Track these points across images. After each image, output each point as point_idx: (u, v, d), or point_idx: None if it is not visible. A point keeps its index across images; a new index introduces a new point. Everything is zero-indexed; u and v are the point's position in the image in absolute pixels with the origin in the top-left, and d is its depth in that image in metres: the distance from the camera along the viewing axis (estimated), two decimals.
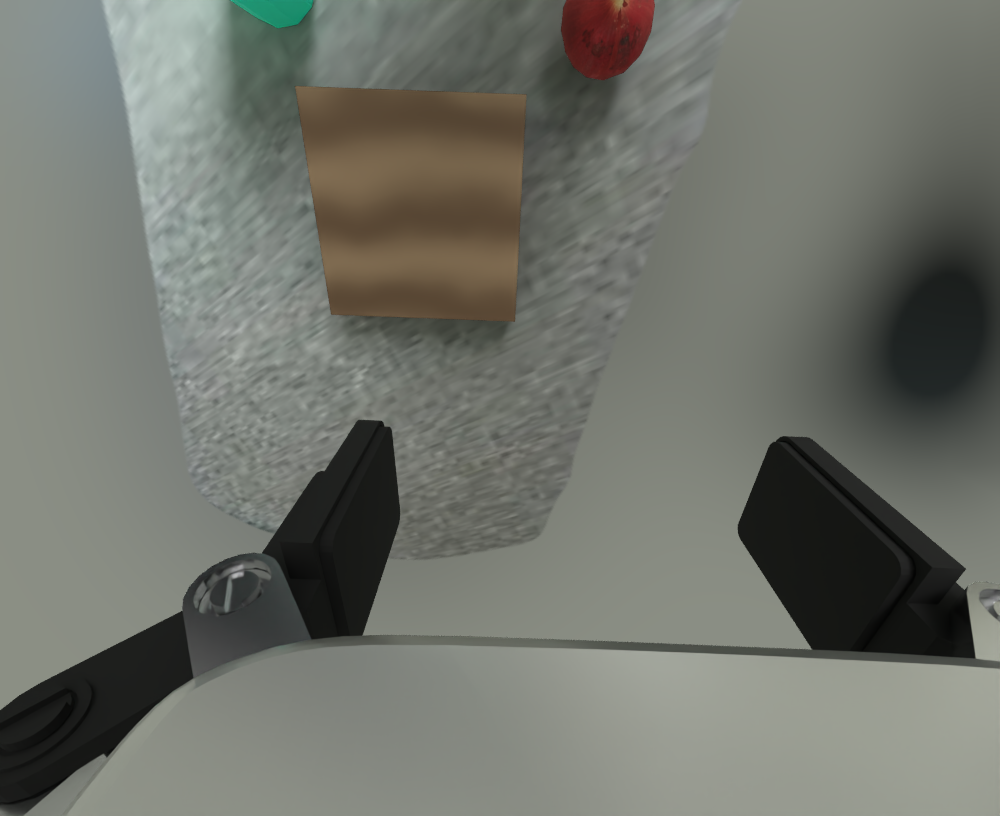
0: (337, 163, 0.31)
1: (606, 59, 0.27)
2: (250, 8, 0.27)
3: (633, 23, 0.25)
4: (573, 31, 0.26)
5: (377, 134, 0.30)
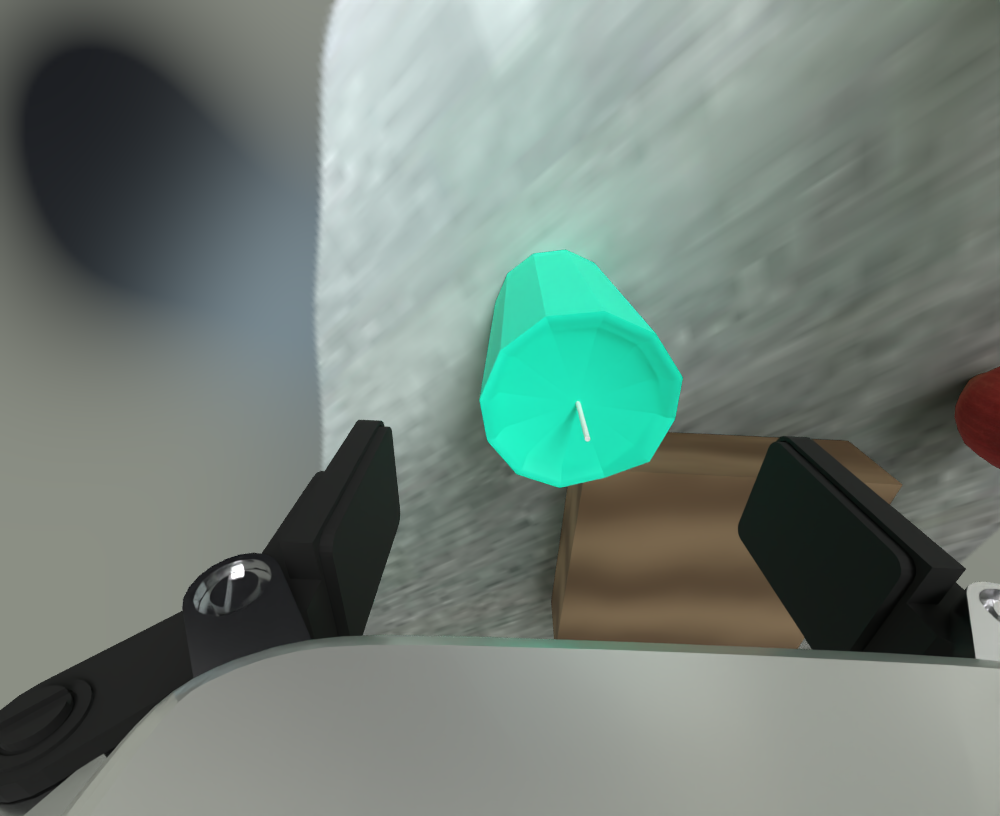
0: (615, 535, 0.24)
1: None
2: None
3: None
4: None
5: (680, 513, 0.23)
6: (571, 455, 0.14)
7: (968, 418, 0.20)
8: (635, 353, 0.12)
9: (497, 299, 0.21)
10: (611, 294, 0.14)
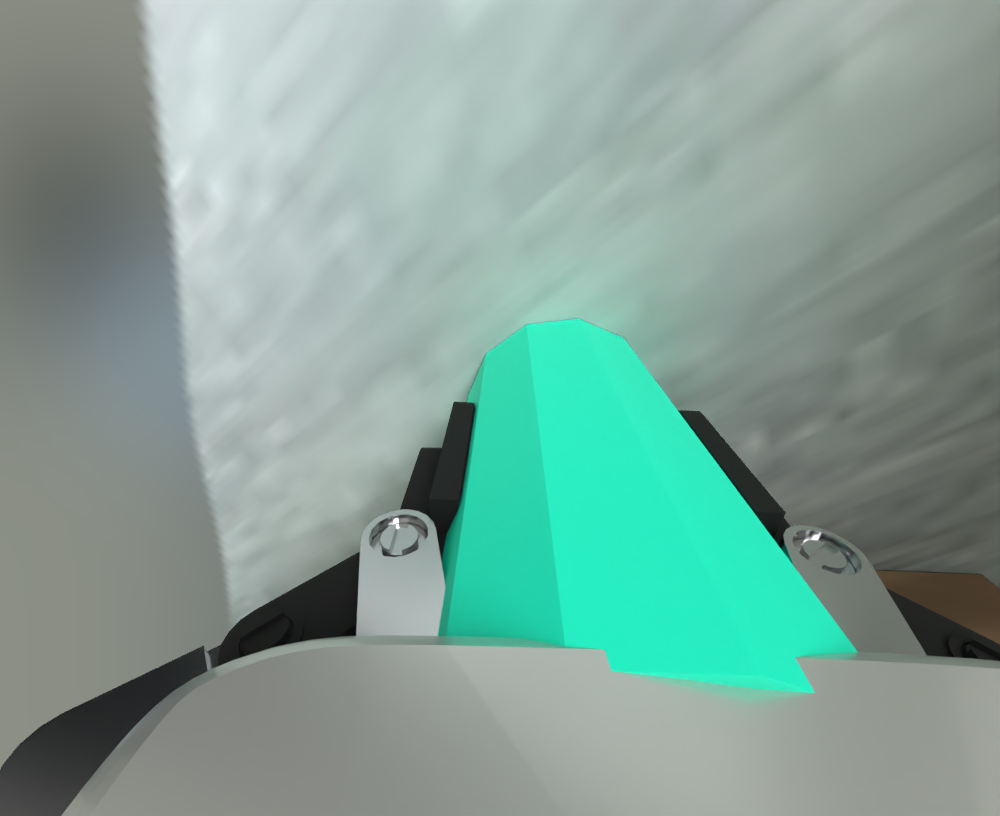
0: None
1: None
2: None
3: None
4: None
5: None
6: None
7: None
8: None
9: (470, 394, 0.13)
10: (700, 475, 0.06)
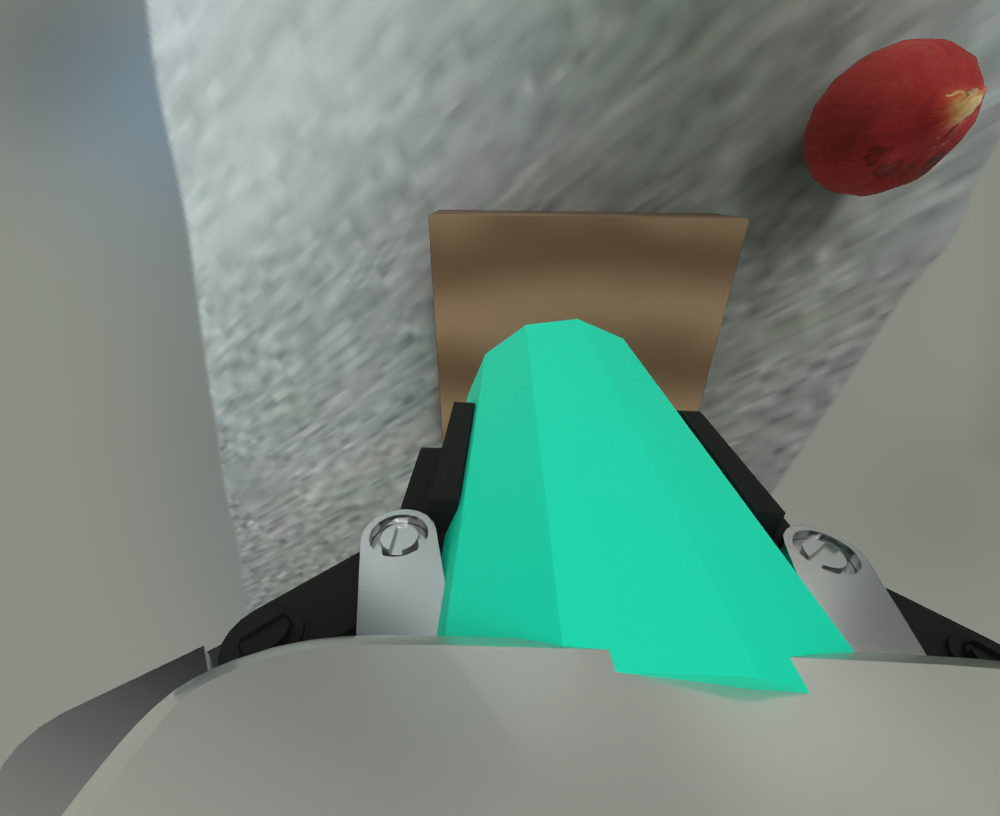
0: (475, 305, 0.23)
1: (891, 180, 0.19)
2: None
3: (958, 138, 0.17)
4: (849, 143, 0.18)
5: (534, 271, 0.22)
6: None
7: (807, 139, 0.20)
8: None
9: (469, 395, 0.13)
10: (698, 475, 0.06)
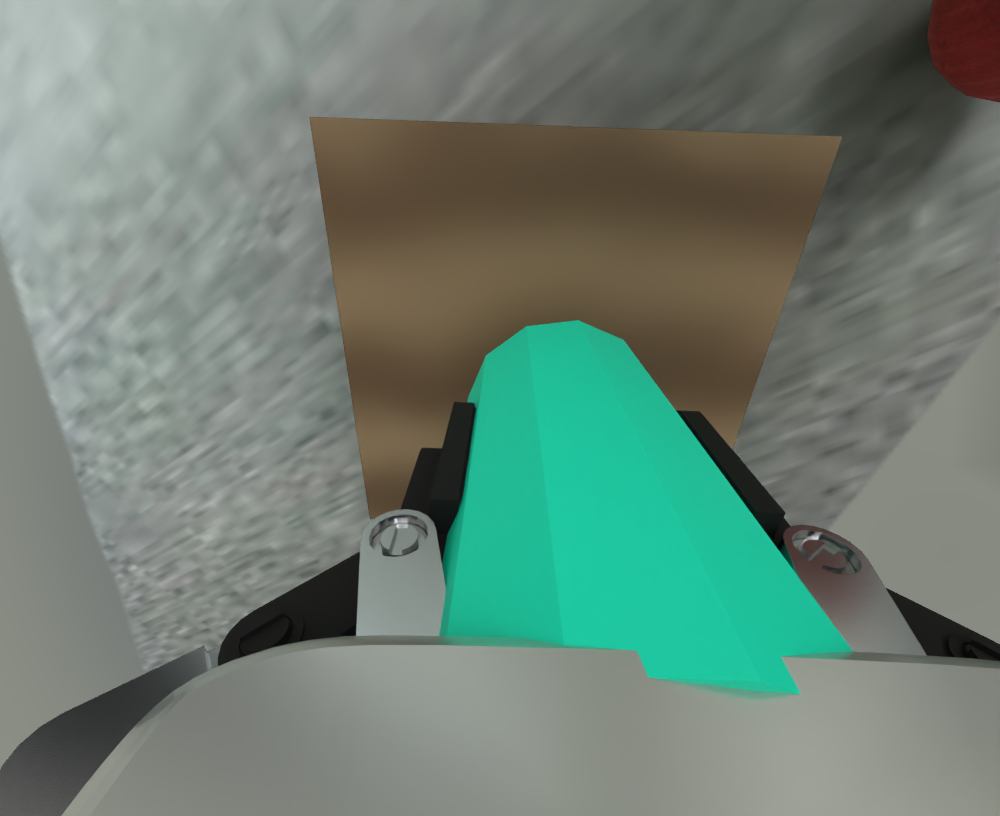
0: (398, 275, 0.15)
1: None
2: None
3: None
4: None
5: (489, 220, 0.14)
6: None
7: None
8: None
9: (470, 396, 0.13)
10: (699, 478, 0.06)
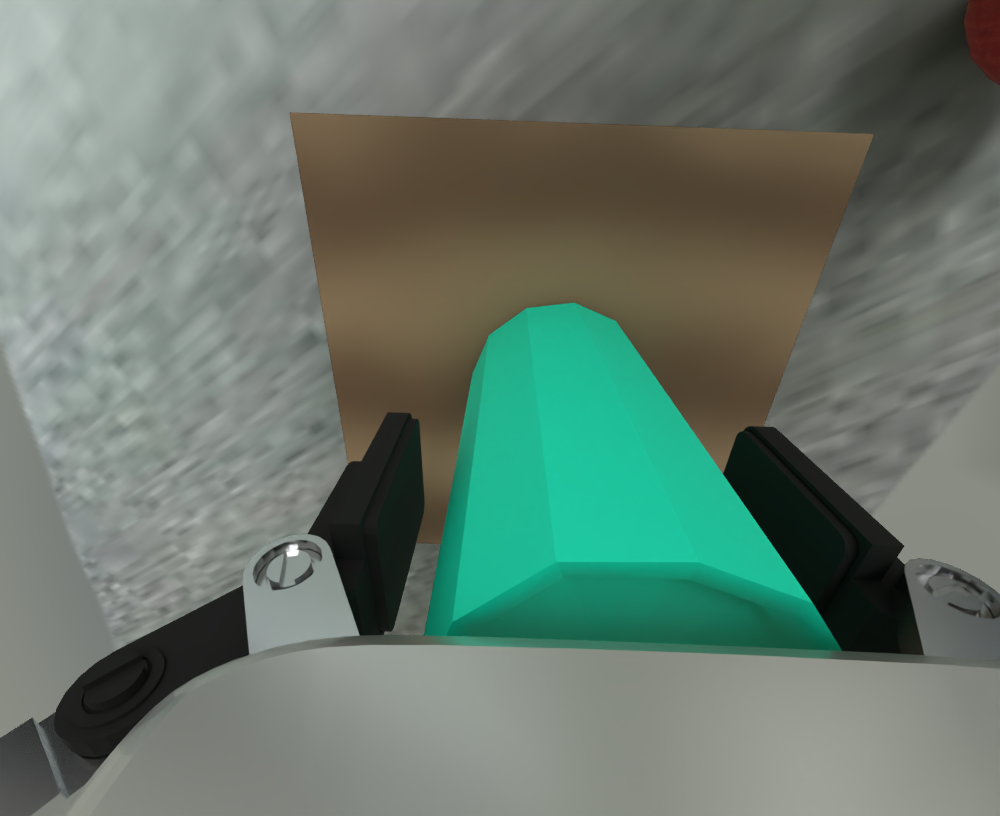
0: (388, 285, 0.14)
1: None
2: None
3: None
4: None
5: (487, 225, 0.13)
6: None
7: None
8: (748, 610, 0.06)
9: (474, 373, 0.14)
10: (672, 433, 0.07)
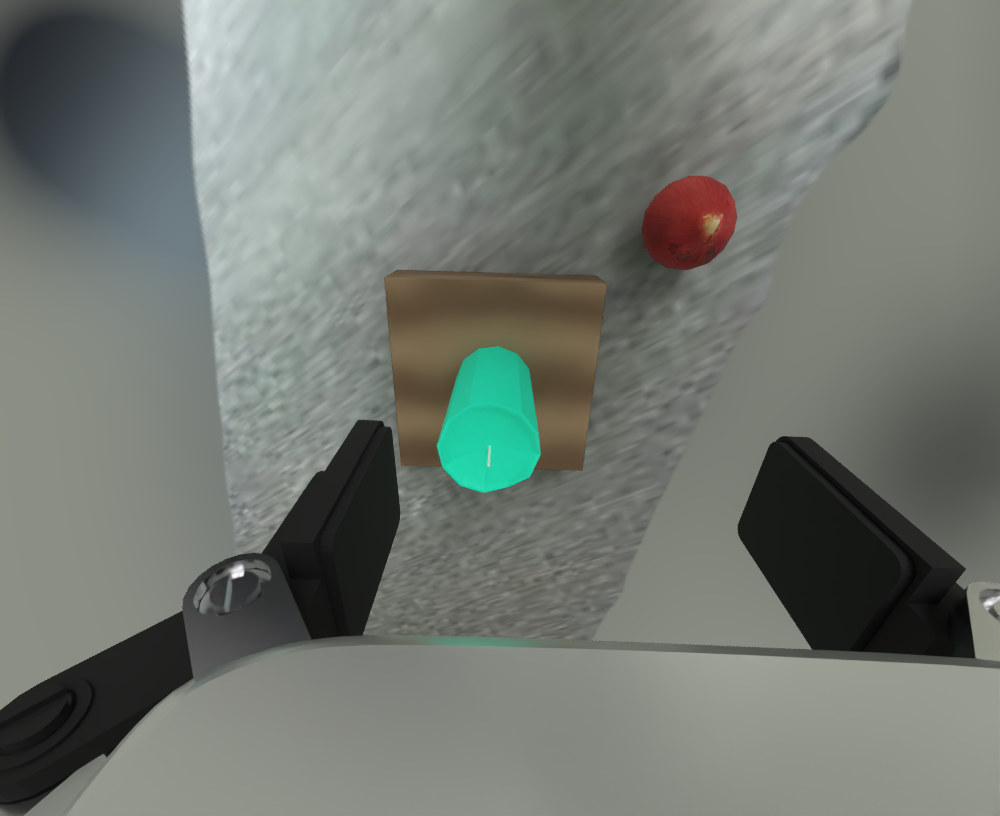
0: (419, 340, 0.32)
1: (690, 263, 0.28)
2: None
3: (720, 240, 0.26)
4: (659, 239, 0.28)
5: (461, 316, 0.31)
6: (489, 474, 0.25)
7: (642, 232, 0.30)
8: (515, 421, 0.24)
9: (457, 376, 0.33)
10: (510, 386, 0.26)
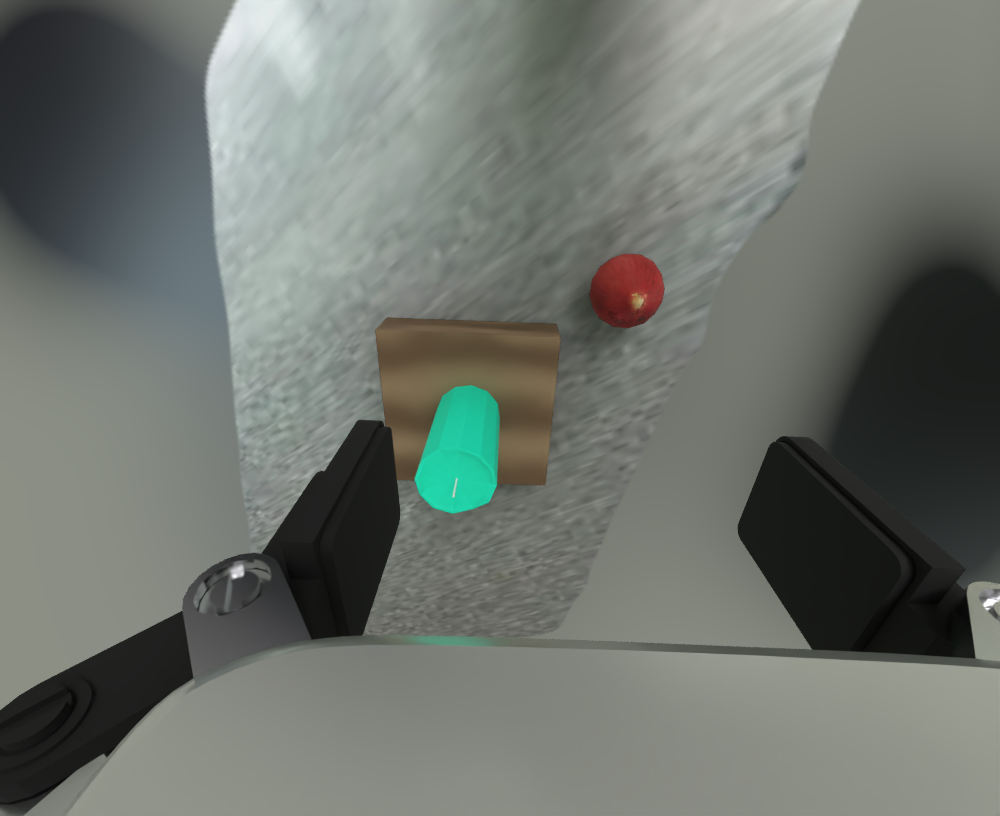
0: (405, 379, 0.38)
1: (626, 325, 0.34)
2: None
3: (648, 310, 0.32)
4: (600, 306, 0.33)
5: (439, 361, 0.37)
6: (457, 499, 0.32)
7: None
8: (476, 460, 0.30)
9: (437, 409, 0.39)
10: (475, 429, 0.32)
